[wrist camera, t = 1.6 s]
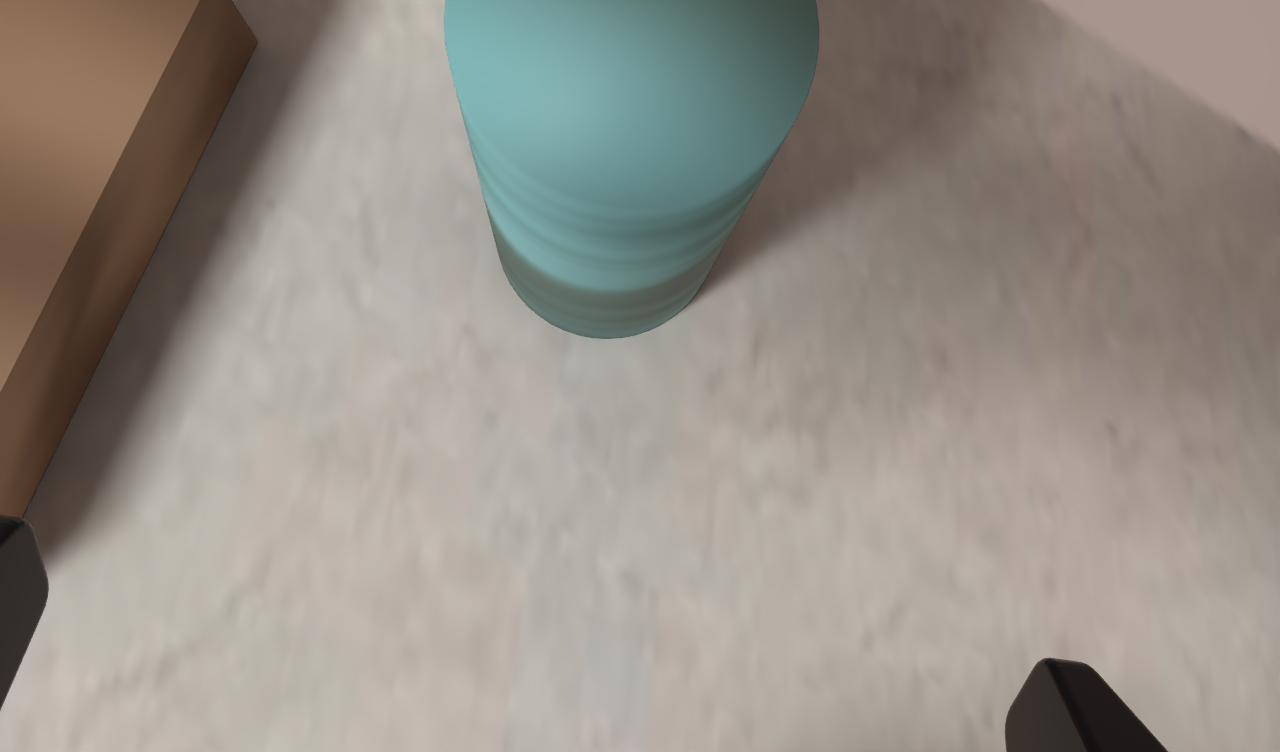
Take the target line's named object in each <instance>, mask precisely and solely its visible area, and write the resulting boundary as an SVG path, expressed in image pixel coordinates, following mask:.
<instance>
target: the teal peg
mask: <svg viewBox="0 0 1280 752" xmlns="http://www.w3.org/2000/svg"><path fill="white" fill-rule="evenodd" d="M444 31H445V45H446V50H447V55H448V60H449V66H450V70H451V74H452V77H453V81H454V85H455V89H456V93H457V97H458V100H459V104H460V108H461V112H462V116H463V120H464V123H465V127H466V131H467V135H468V139H469V143H470V146H471V150H472V154H473V158H474V162H475V166H476V170H477V173H478V177H479V181H480V185H481V189H482V193H483V196H484V200H485V204H486V208H487V212H488V216H489V219H490V223H491V227H492V231H493V235H494V239H495V242H496V246H497V250H498V254H499V258H500V261H501V264H502V267H503V270H504V272H505V274H506V276H507V278H508V280H509V282H510V284H511V285H512V287H513V288H514V290H515V291H516V293H517V294H518V296H519V297H520V298H521V299H522V300H523V301H524V303H525V304H526V305H527V306H528V307H529V308H530V309H531V310H533V311H534V312H535V313H536V314H537V315H538V316H540V317H541V318H543V319H544V320H546V321H547V322H549V323H550V324H552V325H554V326H556V327H558V328H560V329H562V330H565V331H568V332H571V333H574V334H576V335H580V336H585V337H591V338H602V339H612V338H624V337H629V336H634V335H638V334H641V333H644V332H647V331H649V330H652V329H654V328H656V327H658V326H660V325H662V324H663V323H665V322H666V321H668V320H669V319H671V318H672V317H674V316H675V315H676V314H677V313H679V312H680V311H681V310H682V309H683V308H684V307H685V306H686V305H687V304H688V303H689V302H690V300H691V299H692V298H693V297H694V296H695V294H696V293H697V291H698V290H699V288H700V287H701V285H702V283H703V282H704V280H705V278H706V276H707V275H708V273H709V271H710V269H711V268H712V266H713V264H714V262H715V261H716V259H717V257H718V255H719V254H720V252H721V250H722V248H723V247H724V245H725V243H726V241H727V239H728V238H729V236H730V234H731V232H732V231H733V229H734V227H735V225H736V224H737V222H738V220H739V218H740V217H741V215H742V213H743V211H744V210H745V208H746V206H747V204H748V203H749V201H750V199H751V197H752V196H753V194H754V192H755V190H756V189H757V187H758V185H759V183H760V182H761V180H762V178H763V176H764V175H765V173H766V171H767V169H768V168H769V166H770V164H771V162H772V161H773V159H774V157H775V155H776V153H777V152H778V150H779V148H780V146H781V145H782V143H783V141H784V139H785V138H786V136H787V134H788V132H789V131H790V129H791V127H792V125H793V124H794V122H795V120H796V118H797V117H798V115H799V112H800V110H801V108H802V106H803V104H804V102H805V100H806V98H807V96H808V93H809V89H810V86H811V83H812V80H813V77H814V74H815V68H816V62H817V56H818V46H819V23H818V13H817V5H816V1H815V0H446V2H445V13H444Z"/></svg>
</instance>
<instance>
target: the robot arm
mask: <svg viewBox="0 0 1280 752" xmlns="http://www.w3.org/2000/svg"><path fill="white" fill-rule="evenodd" d="M48 591H49V588H48V578H47V574H46V571H45V567H44V564H43V560H42V556H41V553H40V549H39V546H38V542H37V539H36V535H35V532H34V529H33V527H32V525H31V524H30V523H29V522H28V521H27V520H26V519H23V518H21V517H14V516H7V515H0V710H1V708H2V706H3V703H4V701H5V699H6V696H7V694H8V692H9V689H10V687H11V685H12V683H13V680H14V678H15V676H16V673H17V671H18V669H19V666H20V664H21V662H22V659H23V657H24V655H25V653H26V650H27V648H28V646H29V643H30V641H31V639H32V636H33V634H34V632H35V629H36V627H37V625H38V623H39V620H40V618H41V616H42V613H43V611H44V608H45V606H46V602H47V598H48ZM1005 741H1006V751H1007V752H1168V751H1167V750H1166V749H1165V748H1164V746H1163V745H1162V744H1161V743H1160V742H1159V741H1158V740H1157V739H1156V738H1155V736H1154V735H1153V734H1152V733H1151V732H1150V731H1149V730H1148V729H1147V727H1146V726H1145V725H1144V724H1143V723H1142V722H1141V721H1140V720H1139V719H1138V717H1137V716H1136V715H1135V714H1134V713H1133V712H1132V711H1131V710H1130V709H1129V707H1128V706H1127V705H1126V704H1125V703H1124V702H1123V701H1122V700H1121V699H1120V697H1119V696H1118V695H1117V694H1116V693H1115V692H1114V691H1113V690H1112V688H1111V687H1110V686H1109V685H1108V684H1107V683H1106V682H1105V681H1104V680H1103V678H1102V677H1101V676H1100V675H1099V674H1098V673H1097V672H1096V671H1095V670H1094V669H1093V668H1092V667H1090V666H1089V665H1087V664H1085V663H1082V662H1077V661H1070V660H1062V659H1055V658H1044V659H1042V660H1041V661H1039V662H1037V664H1036V665H1035V666H1034V668H1033V670H1032V671H1031V673H1030V675H1029V676H1028V678H1027V680H1026V682H1025V683H1024V685H1023V687H1022V688H1021V690H1020V692H1019V693H1018V695H1017V697H1016V699H1015V700H1014V702H1013V704H1012V705H1011V707H1010V709H1009V711H1008V715H1007V718H1006V724H1005Z"/></svg>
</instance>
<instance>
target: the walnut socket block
mask: <svg viewBox="0 0 1280 752" xmlns="http://www.w3.org/2000/svg"><path fill="white" fill-rule="evenodd" d="M257 42H258V41H257V39H256V37H255V36H254V34H253V33H252V31H251V30H250V28H249V27H248V25H247V24H246V22H245V20H244V19H243V17H242V16H241V14H240V13H239V11H238V10H237V8H236V7H235V5H234V3H233V2H232V0H0V515H7V516H14V517H21V518H22V516H23V514H24V512H25V510H26V508H27V506H28V504H29V502H30V500H31V498H32V496H33V494H34V492H35V490H36V488H37V486H38V484H39V482H40V480H41V478H42V476H43V474H44V472H45V470H46V468H47V466H48V464H49V462H50V460H51V458H52V456H53V454H54V452H55V450H56V448H57V446H58V444H59V442H60V440H61V438H62V436H63V434H64V432H65V430H66V427H67V425H68V423H69V421H70V419H71V417H72V415H73V413H74V411H75V409H76V407H77V405H78V403H79V401H80V399H81V397H82V395H83V393H84V391H85V389H86V387H87V385H88V383H89V381H90V379H91V377H92V375H93V373H94V371H95V369H96V367H97V365H98V363H99V361H100V359H101V357H102V355H103V353H104V351H105V349H106V347H107V345H108V343H109V341H110V339H111V337H112V335H113V333H114V331H115V329H116V327H117V325H118V323H119V321H120V319H121V316H122V314H123V312H124V310H125V308H126V306H127V304H128V302H129V300H130V298H131V296H132V294H133V292H134V290H135V288H136V286H137V284H138V282H139V280H140V278H141V276H142V274H143V272H144V270H145V268H146V266H147V264H148V262H149V260H150V258H151V256H152V254H153V252H154V250H155V248H156V246H157V244H158V242H159V240H160V238H161V236H162V234H163V232H164V230H165V228H166V226H167V224H168V222H169V220H170V218H171V216H172V214H173V212H174V210H175V207H176V205H177V203H178V201H179V199H180V197H181V195H182V193H183V191H184V189H185V187H186V185H187V183H188V181H189V179H190V177H191V175H192V173H193V171H194V169H195V167H196V165H197V163H198V161H199V159H200V157H201V155H202V153H203V151H204V149H205V147H206V145H207V143H208V141H209V139H210V137H211V135H212V133H213V131H214V129H215V127H216V125H217V123H218V121H219V119H220V117H221V115H222V113H223V111H224V109H225V107H226V105H227V103H228V101H229V99H230V96H231V94H232V92H233V90H234V88H235V86H236V84H237V82H238V80H239V78H240V76H241V74H242V72H243V70H244V68H245V66H246V64H247V62H248V60H249V58H250V56H251V54H252V52H253V50H254V48H255V46H256V44H257Z"/></svg>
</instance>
